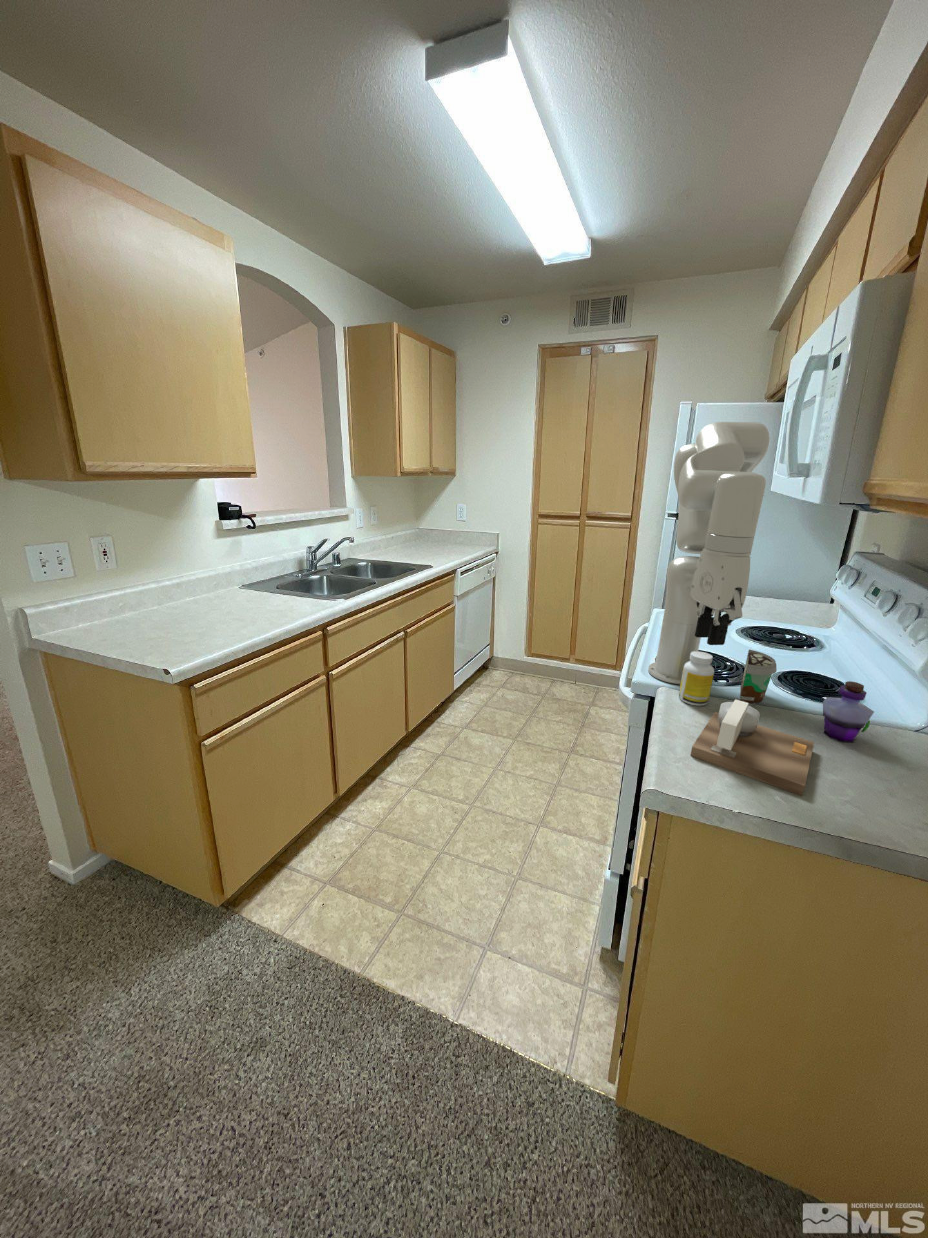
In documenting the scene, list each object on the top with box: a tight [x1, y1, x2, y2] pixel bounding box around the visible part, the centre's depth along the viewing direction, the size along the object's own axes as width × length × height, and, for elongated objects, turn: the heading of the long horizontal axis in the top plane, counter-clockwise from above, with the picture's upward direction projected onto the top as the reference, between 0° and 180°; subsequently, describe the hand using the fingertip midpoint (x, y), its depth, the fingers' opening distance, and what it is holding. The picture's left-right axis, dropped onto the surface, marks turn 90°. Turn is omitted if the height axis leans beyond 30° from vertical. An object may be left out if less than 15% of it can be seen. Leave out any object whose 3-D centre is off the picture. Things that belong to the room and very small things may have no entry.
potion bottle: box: [822, 680, 875, 744], centre depth 100 cm, size 9×9×12 cm
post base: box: [690, 711, 815, 797], centre depth 94 cm, size 18×18×3 cm
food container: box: [738, 649, 778, 704], centre depth 116 cm, size 12×6×10 cm, turn 150°
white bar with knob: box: [717, 699, 761, 750], centre depth 95 cm, size 16×7×5 cm, turn 141°
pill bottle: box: [678, 650, 715, 707], centre depth 114 cm, size 6×6×12 cm
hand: (709, 639), depth 93 cm, fingers open, 3 cm apart
